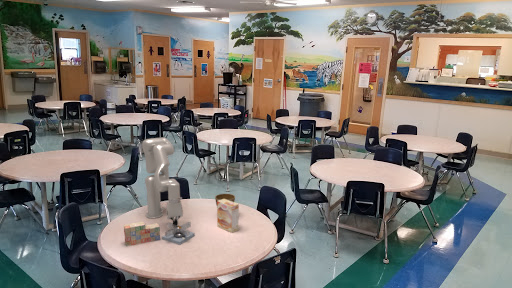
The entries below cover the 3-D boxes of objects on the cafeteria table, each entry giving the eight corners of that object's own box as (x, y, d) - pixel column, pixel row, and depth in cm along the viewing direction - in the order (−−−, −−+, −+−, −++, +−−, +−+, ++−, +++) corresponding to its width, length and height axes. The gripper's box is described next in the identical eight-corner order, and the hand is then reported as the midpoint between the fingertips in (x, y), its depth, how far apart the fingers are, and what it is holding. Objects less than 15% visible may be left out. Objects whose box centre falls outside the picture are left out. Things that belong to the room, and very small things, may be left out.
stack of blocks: (158, 235, 247) (157, 218, 244) (160, 239, 241) (159, 222, 239) (124, 242, 237) (123, 224, 235) (126, 246, 232) (124, 228, 229)
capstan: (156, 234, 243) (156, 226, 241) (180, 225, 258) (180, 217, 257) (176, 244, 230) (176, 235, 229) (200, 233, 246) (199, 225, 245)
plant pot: (238, 215, 282) (238, 195, 279) (227, 222, 270) (227, 201, 267) (223, 211, 290) (223, 192, 287) (211, 217, 278) (211, 197, 274)
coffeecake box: (216, 226, 263) (216, 200, 258) (224, 223, 268) (224, 198, 264) (231, 233, 253) (231, 206, 248) (238, 230, 258) (239, 203, 254)
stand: (177, 230, 255) (177, 227, 254) (194, 235, 248) (194, 232, 247) (162, 239, 242) (162, 236, 241) (180, 245, 235) (179, 241, 234)
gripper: (183, 196, 253) (183, 221, 257) (161, 200, 246) (162, 226, 249) (186, 199, 247) (187, 225, 251) (165, 203, 239) (166, 230, 243)
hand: (175, 225), depth 250 cm, fingers closed
